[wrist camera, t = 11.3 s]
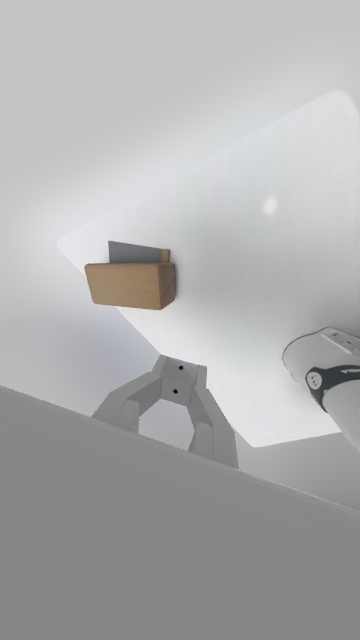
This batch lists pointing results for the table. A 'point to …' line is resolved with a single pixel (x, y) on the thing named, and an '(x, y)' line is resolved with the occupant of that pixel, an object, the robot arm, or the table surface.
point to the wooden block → (132, 284)
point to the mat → (136, 254)
